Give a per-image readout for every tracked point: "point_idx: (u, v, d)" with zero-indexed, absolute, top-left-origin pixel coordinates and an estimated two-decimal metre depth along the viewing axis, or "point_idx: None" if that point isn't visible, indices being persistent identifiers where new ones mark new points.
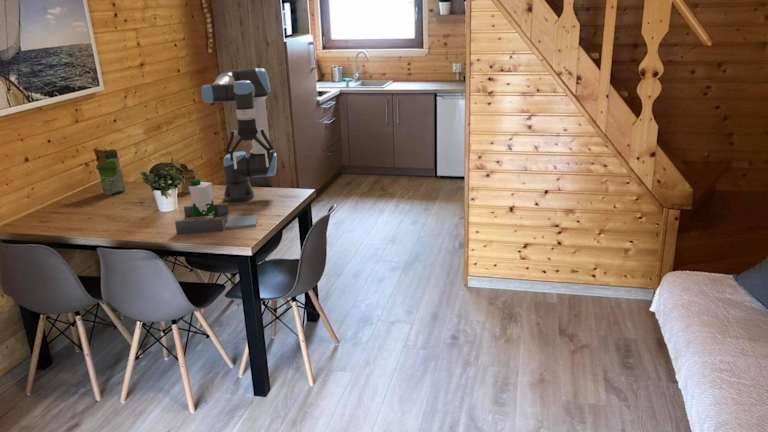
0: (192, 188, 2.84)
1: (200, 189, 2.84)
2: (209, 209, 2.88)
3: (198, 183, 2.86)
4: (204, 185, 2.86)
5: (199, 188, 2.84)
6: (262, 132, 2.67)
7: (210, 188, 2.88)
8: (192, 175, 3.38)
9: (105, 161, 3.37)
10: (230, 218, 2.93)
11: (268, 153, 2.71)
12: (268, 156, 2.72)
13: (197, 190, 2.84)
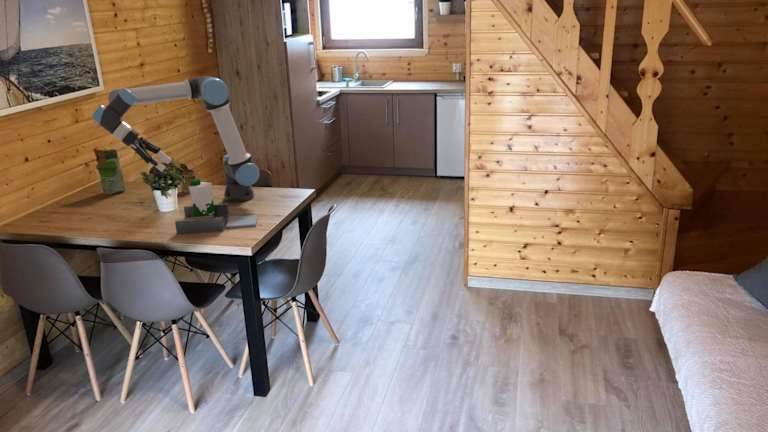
0: (192, 188, 2.84)
1: (200, 189, 2.84)
2: (209, 209, 2.88)
3: (198, 183, 2.86)
4: (204, 185, 2.86)
5: (199, 188, 2.84)
6: None
7: (210, 188, 2.88)
8: (192, 175, 3.38)
9: (105, 161, 3.37)
10: (230, 218, 2.93)
11: None
12: None
13: (197, 190, 2.84)
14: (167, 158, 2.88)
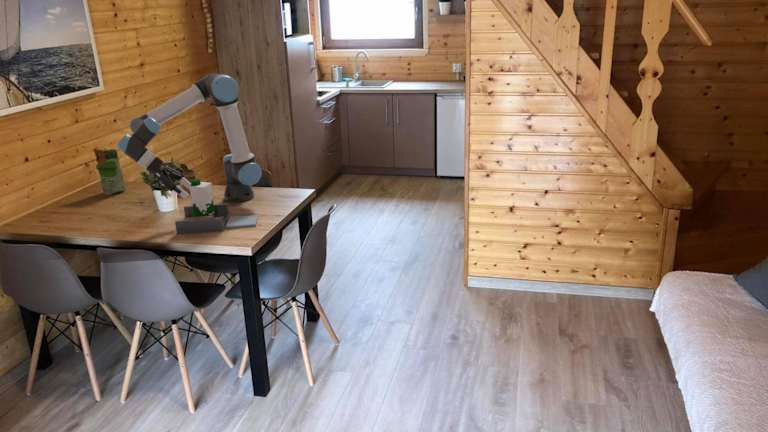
0: (192, 188, 2.84)
1: (200, 189, 2.84)
2: (209, 209, 2.88)
3: (198, 183, 2.86)
4: (204, 185, 2.86)
5: (199, 188, 2.84)
6: None
7: (210, 188, 2.88)
8: (192, 175, 3.38)
9: (105, 161, 3.37)
10: (230, 218, 2.93)
11: None
12: None
13: (197, 190, 2.84)
14: (190, 184, 2.93)
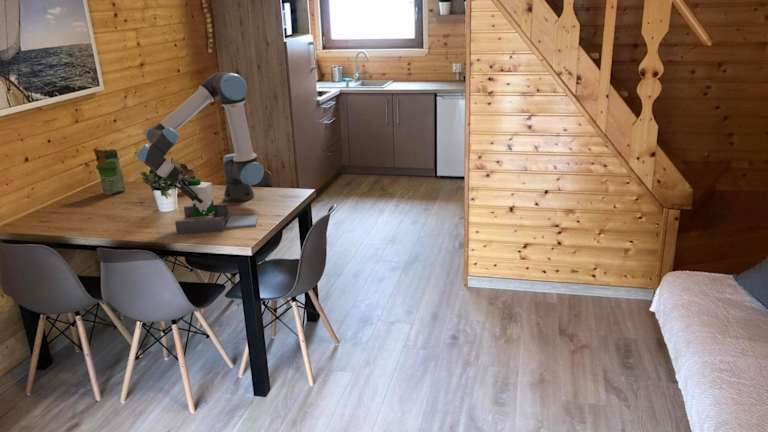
0: (192, 188, 2.84)
1: (200, 189, 2.84)
2: (209, 209, 2.88)
3: (198, 183, 2.86)
4: (204, 185, 2.86)
5: (199, 188, 2.84)
6: None
7: (210, 188, 2.88)
8: (192, 175, 3.38)
9: (105, 161, 3.37)
10: (230, 218, 2.93)
11: None
12: None
13: (197, 190, 2.84)
14: None
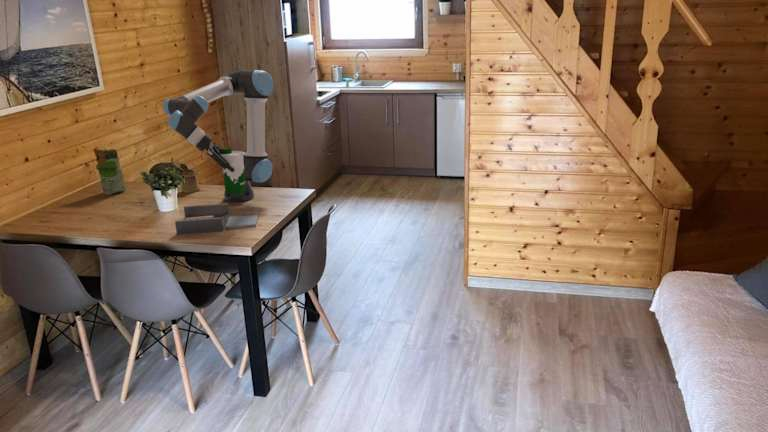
0: (223, 156, 2.76)
1: (231, 157, 2.76)
2: (240, 179, 2.80)
3: (229, 151, 2.78)
4: (236, 153, 2.78)
5: (230, 156, 2.75)
6: None
7: (242, 157, 2.80)
8: (192, 175, 3.38)
9: (105, 161, 3.37)
10: (230, 218, 2.93)
11: None
12: None
13: (229, 158, 2.76)
14: None
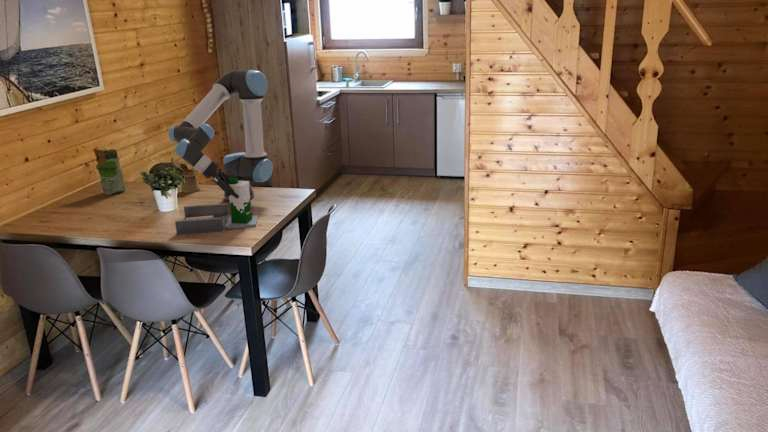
0: None
1: (238, 188, 2.80)
2: (246, 208, 2.84)
3: (236, 182, 2.83)
4: (242, 184, 2.82)
5: (237, 186, 2.80)
6: None
7: (248, 187, 2.84)
8: (192, 175, 3.38)
9: (105, 161, 3.37)
10: (230, 218, 2.93)
11: None
12: None
13: (235, 188, 2.80)
14: None
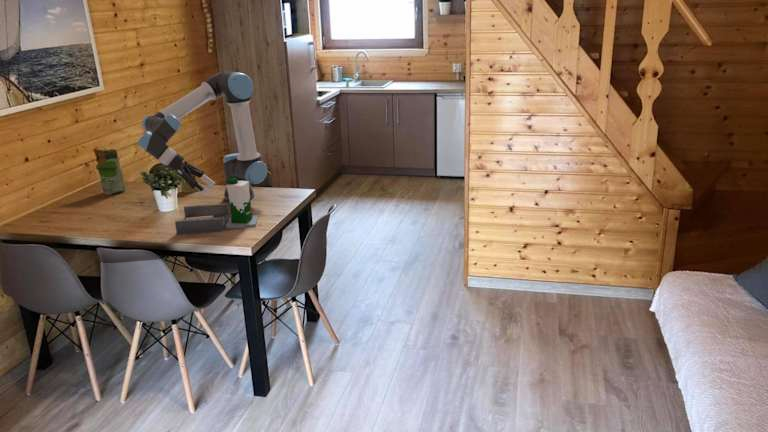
0: (230, 187, 2.80)
1: (237, 188, 2.80)
2: (246, 208, 2.84)
3: (236, 182, 2.83)
4: (242, 184, 2.82)
5: (237, 186, 2.80)
6: None
7: (247, 187, 2.84)
8: (192, 175, 3.38)
9: (105, 161, 3.37)
10: (230, 218, 2.93)
11: None
12: None
13: (235, 188, 2.80)
14: (211, 181, 2.89)
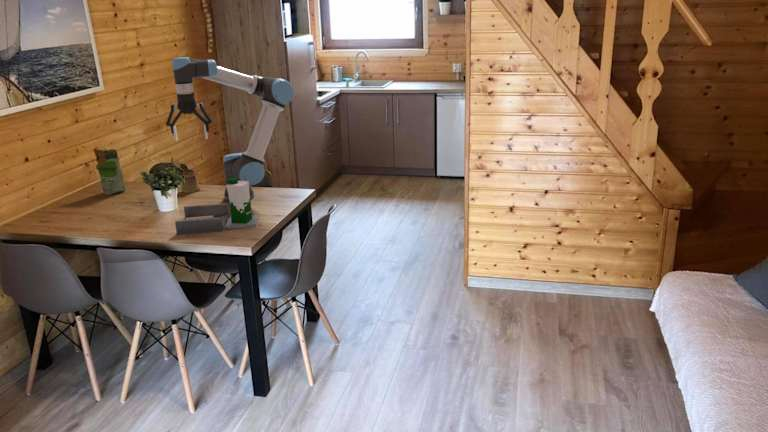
0: (230, 187, 2.80)
1: (237, 188, 2.80)
2: (246, 208, 2.84)
3: (236, 182, 2.83)
4: (242, 184, 2.82)
5: (237, 186, 2.80)
6: (200, 106, 2.85)
7: (247, 187, 2.84)
8: (192, 175, 3.38)
9: (105, 161, 3.37)
10: (230, 218, 2.93)
11: (207, 126, 2.88)
12: (207, 129, 2.89)
13: (235, 188, 2.80)
14: None
